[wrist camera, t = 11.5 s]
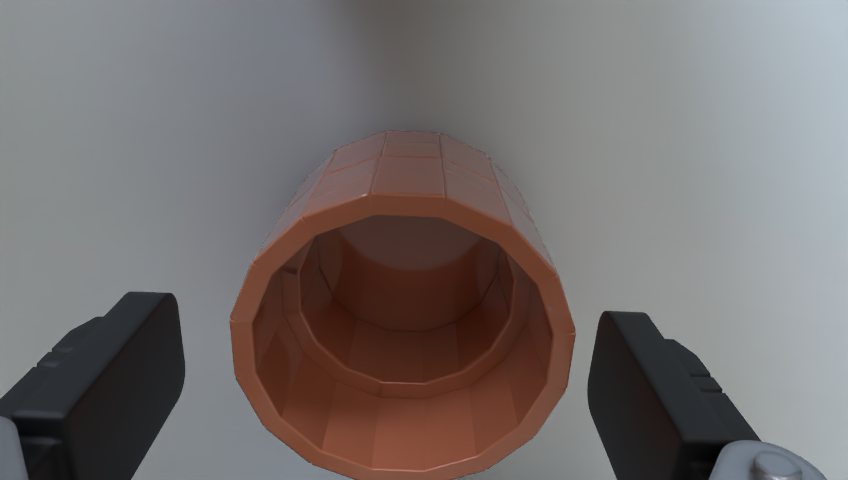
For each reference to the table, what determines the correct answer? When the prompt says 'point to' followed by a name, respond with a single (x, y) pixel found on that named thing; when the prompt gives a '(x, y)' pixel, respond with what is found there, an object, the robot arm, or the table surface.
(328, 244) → the flower pot
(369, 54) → the table surface
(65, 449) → the robot arm
